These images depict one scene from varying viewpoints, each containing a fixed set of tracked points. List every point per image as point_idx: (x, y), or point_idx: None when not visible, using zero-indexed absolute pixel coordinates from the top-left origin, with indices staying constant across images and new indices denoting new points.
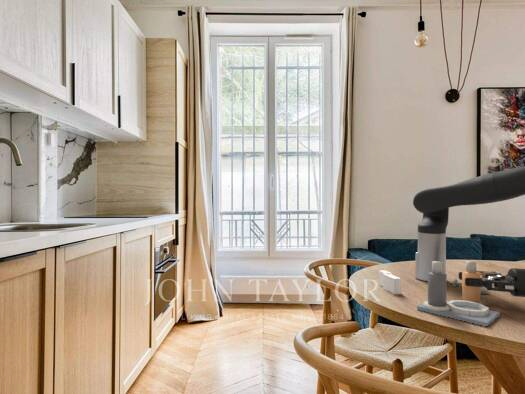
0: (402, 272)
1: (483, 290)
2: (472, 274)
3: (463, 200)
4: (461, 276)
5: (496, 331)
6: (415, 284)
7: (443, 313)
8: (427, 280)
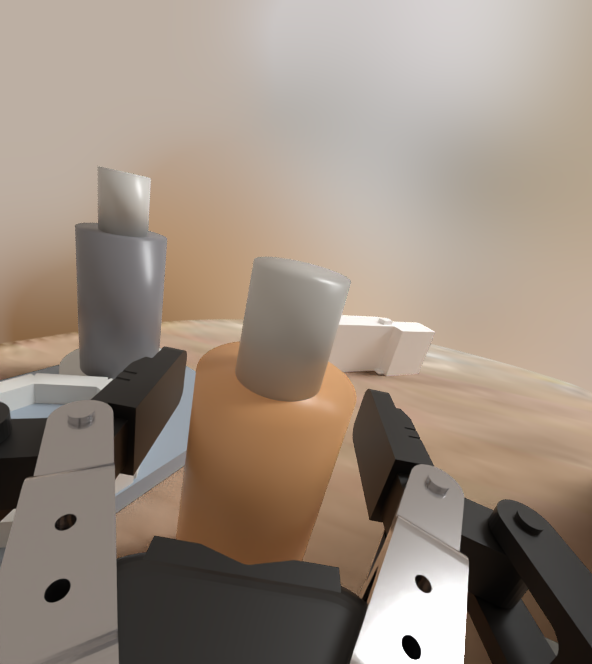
0: None
1: None
2: (201, 361)
3: None
4: (362, 421)
5: None
6: (502, 445)
7: (49, 370)
8: None
